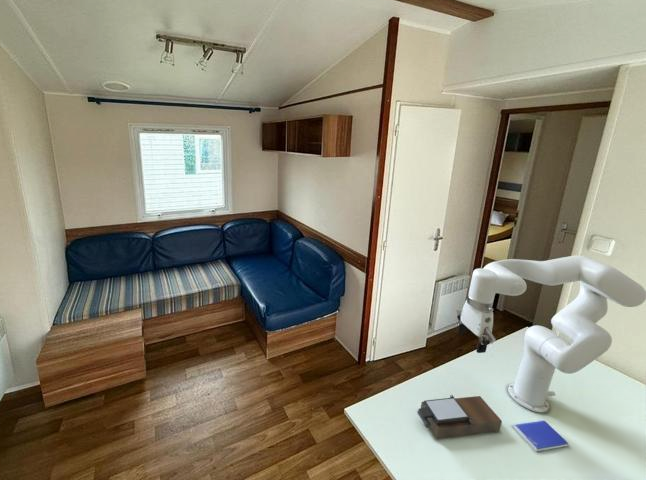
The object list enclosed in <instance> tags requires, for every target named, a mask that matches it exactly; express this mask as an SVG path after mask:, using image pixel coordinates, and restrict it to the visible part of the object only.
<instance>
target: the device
mask: <svg viewBox="0 0 646 480" xmlns="http://www.w3.org/2000/svg"><path fill="white" fill-rule="evenodd" d="M423 402H424V403H423V404H424V406H425V407H426V408H421V407H419V408H418V411H417V415H418V416H419V418H420V419H421V422H422V423H423V425H424V426H425V427H426V428H429V427H430V423H429V421H428V419H427V418H433V420H434V421H435V423H436V424H437V425H442V424H450V423H459V422H467V421H469V416H468V415H467V414H466V413H465V411H464V410H463V409H462V407H461V406H460V405H459V404H458V402H457V401H456V400H455V396H453V398H450V397H445V398H435V399H426V400H423Z"/></svg>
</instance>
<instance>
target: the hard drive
mask: <svg viewBox="0 0 646 480" xmlns="http://www.w3.org/2000/svg"><path fill="white" fill-rule="evenodd" d="M513 428H514V430H515V431H516V432H517V433H518V434H519V435H520V436H521V437H522V438H523V439H524V440H525V441H526V442H527V444H528V445H529V446H530V447H531V448H532V449H533V450H534V451H535V452H541V451H546V450H551V449H558V448H563V447H568V446H569V442H568V441H567V440H566V439H565V438H563V437H562V435H561V434H560V433H558V432H557V431H556V430H555V428H554V427H552V426H551V425H550V424H549V423H548V422H547V421H546V420H539V421H538V420H537V421H532V422H525V423H518V424H514V426H513Z"/></svg>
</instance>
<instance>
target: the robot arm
mask: <svg viewBox="0 0 646 480" xmlns="http://www.w3.org/2000/svg"><path fill="white" fill-rule="evenodd" d="M525 280H528V281H531V282H534V283H537V284H541V285H545V286H558V285H559V286H560V285H564V284H569V283H575V282H576V283H577V282H579V292H578V294H577V296H576V297H575V298H574V299H573V300H572V301H571V302H569V303H568V304H567V305H565V306H564V307H563V308H561V310H559V311H557V312H556V313H555V314H554V315H553V317H551V319H550V323H551V325H552V327H553V329H555V330H557V332H559V333H560V334H562V335H563V336H564V337H566V338H567V339H568V340H570V341H571V342H572V343H571V344H570V343H569V342H567V340H565V339H564V338H563V337H561V336H560V335H558V334H557V333H556V332H554V331H553V330H551V329H549V328H547V327H545V326H543V325H537V324H536V325H532V326H529V327H528V328H527V329H526V331H525V333H524V337H523V340H524V341H523V342H524V343H523V353H522V357H521V360H520V364H519V368H518V372H517V373H516V378H515V381H514V382H512V383H510V384H509V385H508V388H507V391H508V394H509V396H510V397H511V398H512V399H513V401H515V402H516V403H517V404H519V405H521V407H523V408H525V409H526V410H530V411H532V412H535V413H546V412H548V411H549V409H550V403H549V401H548V398H549V397H555V396H556V393H555V391H554V390H549V389H550V387H551V383H552V380H553V377H554V375H555V371H556V370H558V371H559V372H560V373H563V374H567V375H568V374H569V375H571V374H572V375H573V374H575V373H578V372H580V371H581V370H582V369H583V368H585V367H587V366H589V364H591V363H593V362H594V361H595V360H597V359H598V358H599V357H601V356H602V355H603V354H606V352H608V350H609V349H610V348H611V346H612V343H613V338H612V335H611V334H610V333H609V332H608V331H607V330H606V329H605V328H603V327H602V326H600V325H599V324H597V323H599V321H600V320H602V318H604V317H605V316H606V315H607V313H608V307H609V305H608V300H610V301H611V302H614V303H615V304H617V305H619V306H622V307H625V308H636V307H638V306H641V305H642V304H643V303H644V302H645V301H646V289H645V287H643V285H641V284H640V283H638V281H635V279H632V278H631V277H629V276H628V275H626V274H624V273H623V272H622V271H620V270H618V269H617V268H615V267H614V266H611V265H610V264H607V263H604V262H602V261H600V260H597V259H594V258H592V257H589V256H587V255H582V254H576V255H575V254H574V255H570V256H563V257H558V258H553V259H547V260H532V259H531V260H530V259H518V258H509V259H501V260H495V261H492V262H489V263H487V264H485V266H484V267H483V268H482V267H479V268H475V269H474V270H473V272H472V275H471V279H470V285H469V288H468V289H469V290H468V293H467V294H468V295H467V299H466V300H465V302H464V304H463V307H462V309H457V310H456V315H457V316H456V318H457V320H458V321H457V324H458V328H457V332H456V333H457V335H466V334H467V329H468V330H469V331H471V333H473V334H474V335H475V336H476V337H478V341H479V342H478V343H477V346H476V350H475V352H476V353H477V354H482V353H483V354H484V353H486V351H487V348H488V345H493V344H494V343H495V342H496V337H495V336H494V335H493V333H492V332H493V327H494V312H493V311H494V308H493V305H494V302H495V301H494V300H495V296H496V294H498V295H499V294H500V295H505V296H511V297H516V296H520V295H523V294H524V293H525V292H526V291H527V287H528V286H527V283H526V281H525Z"/></svg>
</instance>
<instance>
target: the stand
mask: <svg viewBox="0 0 646 480" xmlns="http://www.w3.org/2000/svg"><path fill="white" fill-rule="evenodd" d="M453 397H454V395H453V394H450V395H449V398H453ZM454 398H455V397H454ZM455 400H456V401H457V402H458V404H459V405H460V406H461V407H462V409H463V410H464V411H465V413H466V414H467V415H468V416H469V421H467V422H459V423H450V424H442V425H437V424H436V423H435V421H434V420H433V418H427V419H428V421H429V423H430V427H428V428H429V429H430V431H431V433H432V435H433V436H434V438H435V439H436V440H442V439H450V438H459V437H468V436H476V435H483V434H484V435H485V434H493V433H499V432H500V430H501V426H502V423H503V421H502V419H501V418H500V417H499V416H498V414H497V413H496V412H494V410H493V409H492V408H491V407H490V406H489V404H488V403H487V402H486V401H485V400H484V398H483V397H482V396H481V395H475V396H474V395H473V396H466V397H457V398H455ZM423 403H424V401H421V403H420V408H426V407H425V406H424V404H423Z"/></svg>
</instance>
